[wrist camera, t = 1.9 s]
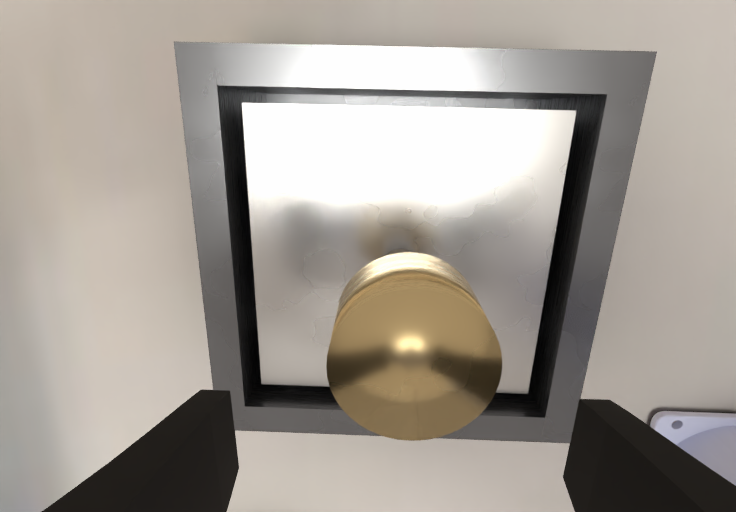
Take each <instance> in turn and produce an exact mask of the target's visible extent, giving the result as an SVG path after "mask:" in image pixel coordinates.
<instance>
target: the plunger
mask: <svg viewBox="0 0 736 512" xmlns="http://www.w3.org/2000/svg"><path fill="white" fill-rule="evenodd" d="M242 112H243V126H244V141H245V155H246V169H247V184H248V198H249V212H250V227H251V241H252V256H253V270H254V284H255V299H256V313H257V327H258V342H259V356H260V370H261V384H273V385H300V386H328V387H330V389H331V391H332V394H333V396H334V398H335V399H336V401H337V403H338V404H339V406H340V407H341V408H342V409H343V411H344V412H345V413H346V414H347V415H348V416H349V417H350V418H351V419H353V420H354V421H355V422H357V423H358V424H359V425H361V426H362V427H364V428H366V429H368V430H370V431H372V432H374V433H376V434H379V435H382V436H385V437H389V438H394V439H399V440H426V439H432V438H437V437H441V436H444V435H447V434H450V433H452V432H454V431H456V430H459V429H461V428H462V427H464V426H466V425H467V424H469V423H470V422H471V421H473V420H474V419H475V418H476V417H478V416H479V415H480V414H481V413H482V412H483V411H484V410H485V408H486V407H487V406H488V404H489V403H490V402H491V400H492V398H493V397H494V395H495V393H520V394H528V390H529V384H530V378H531V372H532V366H533V361H534V355H535V349H536V343H537V337H538V332H539V326H540V320H541V314H542V308H543V302H544V297H545V291H546V285H547V279H548V273H549V268H550V262H551V256H552V250H553V244H554V239H555V233H556V227H557V221H558V215H559V210H560V204H561V198H562V192H563V186H564V181H565V175H566V169H567V163H568V157H569V151H570V146H571V140H572V134H573V128H574V122H575V117H576V111H572V110H530V109H487V108H444V107H402V106H359V105H316V104H274V103H242Z"/></svg>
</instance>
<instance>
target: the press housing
mask: <svg viewBox="0 0 736 512" xmlns="http://www.w3.org/2000/svg"><path fill="white" fill-rule="evenodd" d="M174 48H175V57H176V66H177V74H178V83H179V92H180V101H181V110H182V118H183V127H184V136H185V145H186V154H187V162H188V171H189V180H190V189H191V198H192V206H193V215H194V224H195V233H196V241H197V250H198V259H199V268H200V277H201V285H202V294H203V303H204V312H205V321H206V329H207V338H208V347H209V356H210V365H211V373H212V382H213V390H229V391H230V394H231V403H232V412H233V420H234V429H235V430H241V431H267V432H293V433H319V434H345V435H370V436H382V435H379V434H376V433H374V432H372V431H370V430H368V429H366V428H364V427H362V426H361V425H359V424H358V423H357V422H355V421H354V420H353V419H351V418H350V417H349V416H348V415H347V414H346V413H345V412H344V411H343V409H342V408H341V407H340V406H339V404H338V403H337V401H336V399H335V398H334V396H333V394H332V391H331V389H330V387H328V386H300V385H273V384H261V370H260V356H259V342H258V327H257V313H256V299H255V284H254V270H253V256H252V241H251V227H250V212H249V198H248V184H247V169H246V155H245V141H244V126H243V112H242V103H274V104H316V105H359V106H402V107H444V108H487V109H530V110H572V111H576V117H575V122H574V128H573V134H572V140H571V146H570V151H569V157H568V163H567V169H566V175H565V181H564V186H563V192H562V198H561V204H560V210H559V215H558V221H557V227H556V233H555V239H554V244H553V250H552V256H551V262H550V268H549V273H548V279H547V285H546V291H545V297H544V302H543V308H542V314H541V320H540V326H539V332H538V337H537V343H536V349H535V355H534V361H533V366H532V372H531V378H530V384H529V390H528V394H520V393H495V395H494V397H493V398H492V400H491V402H490V403H489V404H488V406H487V407H486V408H485V410H484V411H483V412H482V413H481V414H480V415H479V416H478V417H476V418H475V419H474V420H473V421H471V422H470V423H469V424H467V425H466V426H464V427H462V428H461V429H459V430H456V431H454V432H452V433H450V434H447V435H444V436H441V437H437V438H448V439H474V440H500V441H526V442H551V443H570V441H571V437H572V432H573V427H574V422H575V417H576V412H577V408H578V403H579V399H580V397H581V393H582V388H583V384H584V379H585V375H586V370H587V366H588V361H589V356H590V352H591V347H592V343H593V338H594V334H595V329H596V325H597V320H598V316H599V311H600V307H601V302H602V298H603V293H604V289H605V284H606V279H607V275H608V270H609V266H610V261H611V257H612V252H613V248H614V243H615V239H616V234H617V230H618V225H619V221H620V216H621V212H622V207H623V203H624V198H625V193H626V189H627V184H628V180H629V175H630V171H631V166H632V162H633V157H634V153H635V148H636V144H637V139H638V135H639V130H640V126H641V121H642V116H643V112H644V107H645V103H646V98H647V94H648V89H649V85H650V80H651V76H652V71H653V67H654V62H655V58H656V53H657V52H649V51H601V50H552V49H504V48H455V47H407V46H359V45H310V44H262V43H213V42H174Z"/></svg>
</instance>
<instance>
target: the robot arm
mask: <svg viewBox="0 0 736 512" xmlns="http://www.w3.org/2000/svg"><path fill="white" fill-rule="evenodd" d="M674 421H676V422H674ZM673 422H674V423H673ZM238 469H239V465H238V456H237V447H236V438H235V429H234V420H233V412H232V403H231V394H230V391H229V390H200V391H199V392H198V393H196V394H195V395H194V396H192V397H191V398H190V399H188V400H187V401H186V402H185V403H183V404H182V405H181V406H180V407H178V408H177V409H176V410H175V411H174V412H172V413H171V414H170V415H169V416H167V417H166V418H165V419H164V420H162V421H161V422H160V423H159V424H157V425H156V426H155V427H154V428H152V429H151V430H150V431H149V432H147V433H146V434H145V435H144V436H142V437H141V438H140V439H139V440H137V441H136V442H135V443H134V444H132V445H131V446H130V447H128V448H127V449H126V450H125V451H123V452H122V453H121V454H120V455H118V456H117V457H116V458H114V459H113V460H112V461H111V462H109V463H108V464H107V465H105V466H104V467H102V468H101V469H100V470H98V471H97V472H96V473H94V474H93V475H92V476H90V477H89V478H87V479H86V480H85V481H83V482H82V483H81V484H79V485H78V486H77V487H75V488H74V489H72V490H71V491H70V492H68V493H67V494H66V495H64V496H63V497H62V498H60V499H59V500H57V501H56V502H55V503H53V504H52V505H51V506H49V507H48V508H46V509H45V510H43V511H42V512H226V511H227V508H228V505H229V501H230V498H231V495H232V491H233V487H234V484H235V480H236V476H237V473H238ZM563 478H564V481H565V484H566V487H567V490H568V493H569V496H570V499H571V502H572V504H573V507H574V510H575V512H736V414H732V413H705V412H678V411H661V412H658V413H656V414H655V415H654V416H653V418H652V420H651V423H650V426H648V425H647V424H646V423H644V422H643V421H641V420H640V419H638V418H637V417H635V416H634V415H632V414H631V413H629V412H628V411H626V410H625V409H623V408H622V407H620V406H619V405H617V404H615V403H614V402H612V401H610V400H594V399H579V403H578V408H577V412H576V417H575V422H574V427H573V432H572V437H571V441H570V446H569V451H568V456H567V461H566V465H565V470H564V475H563Z"/></svg>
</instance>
